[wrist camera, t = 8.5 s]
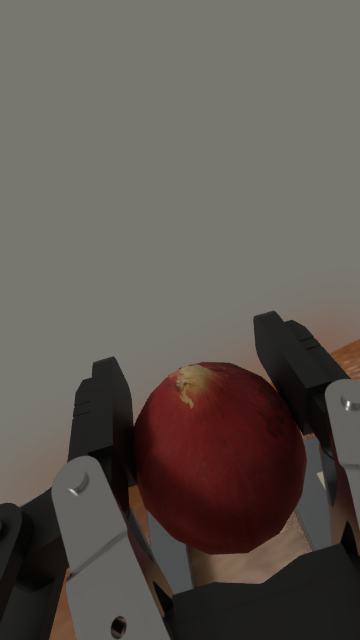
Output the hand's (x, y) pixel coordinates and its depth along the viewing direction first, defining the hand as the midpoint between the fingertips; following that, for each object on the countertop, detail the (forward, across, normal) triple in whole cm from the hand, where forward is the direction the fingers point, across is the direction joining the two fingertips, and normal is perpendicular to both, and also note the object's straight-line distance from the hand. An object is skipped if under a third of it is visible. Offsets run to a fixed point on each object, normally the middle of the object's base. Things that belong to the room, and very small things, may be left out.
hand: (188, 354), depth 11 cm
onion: (-3, 0, +6) cm, 7 cm away
